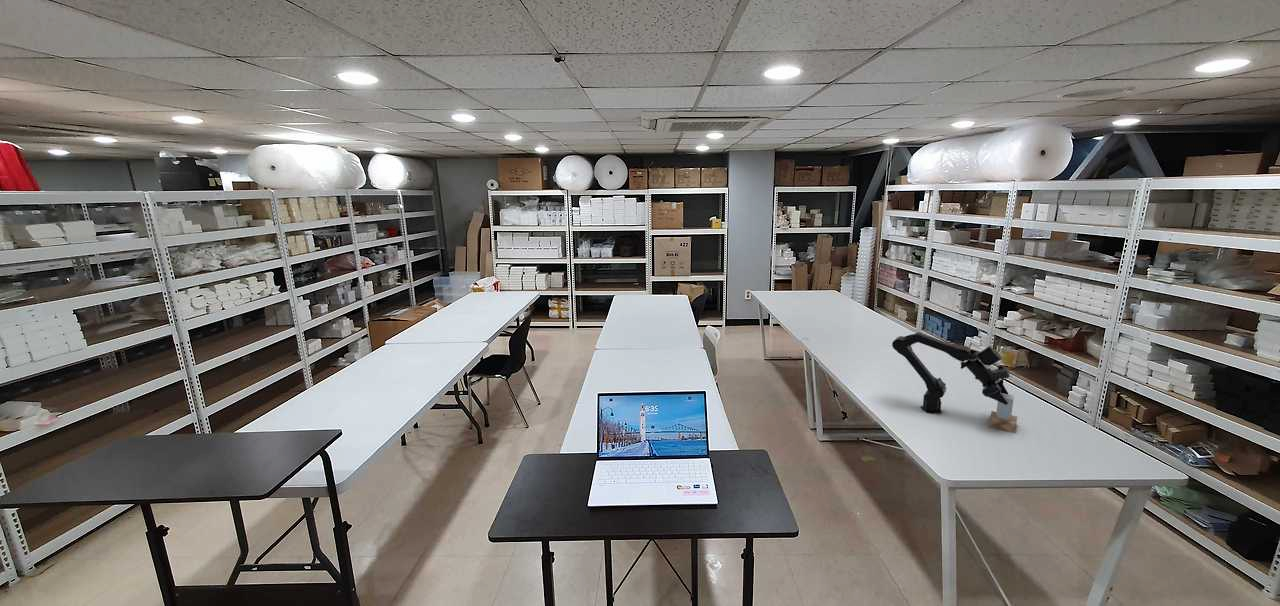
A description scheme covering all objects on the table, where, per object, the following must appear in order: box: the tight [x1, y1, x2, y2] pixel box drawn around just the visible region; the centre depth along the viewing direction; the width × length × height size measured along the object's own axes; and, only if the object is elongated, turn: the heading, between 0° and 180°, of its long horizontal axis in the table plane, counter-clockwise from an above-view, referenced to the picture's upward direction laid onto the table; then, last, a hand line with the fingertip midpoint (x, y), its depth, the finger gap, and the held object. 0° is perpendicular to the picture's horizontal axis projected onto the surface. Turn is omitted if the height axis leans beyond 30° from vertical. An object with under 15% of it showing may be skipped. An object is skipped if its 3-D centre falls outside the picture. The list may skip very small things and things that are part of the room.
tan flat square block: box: [988, 410, 1018, 433], centre depth 204 cm, size 9×9×4 cm
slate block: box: [995, 393, 1015, 421], centre depth 203 cm, size 5×5×10 cm
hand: (1008, 400), depth 202 cm, fingers open, 9 cm apart
